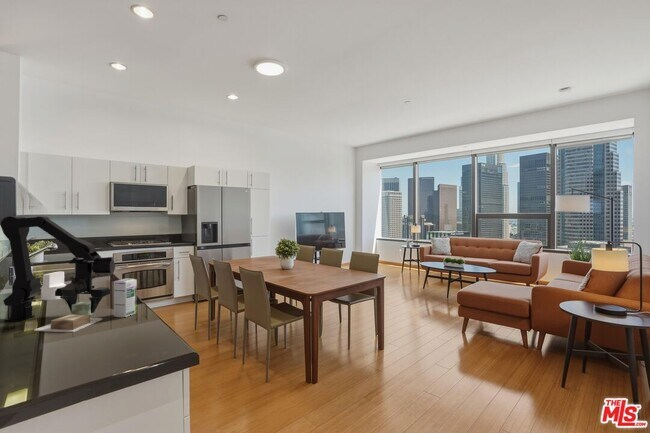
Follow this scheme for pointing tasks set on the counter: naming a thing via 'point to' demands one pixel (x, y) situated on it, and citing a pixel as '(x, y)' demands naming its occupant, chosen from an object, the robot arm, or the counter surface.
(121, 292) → the syrup box
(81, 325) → the board
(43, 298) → the cylinder with rectangular tab
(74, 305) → the sage block
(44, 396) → the counter surface
